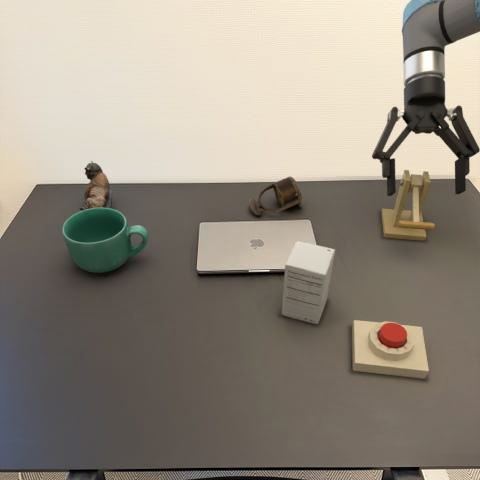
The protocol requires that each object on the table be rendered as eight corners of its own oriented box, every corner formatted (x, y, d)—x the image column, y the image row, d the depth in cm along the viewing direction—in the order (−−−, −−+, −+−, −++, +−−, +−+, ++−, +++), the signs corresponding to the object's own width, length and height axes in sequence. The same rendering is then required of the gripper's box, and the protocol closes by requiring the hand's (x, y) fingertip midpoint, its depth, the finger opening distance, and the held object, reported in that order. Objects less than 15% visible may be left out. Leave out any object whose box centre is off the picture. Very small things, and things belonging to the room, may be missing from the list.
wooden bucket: (307, 200, 106) (305, 169, 111) (251, 196, 105) (251, 165, 110) (301, 222, 112) (299, 192, 117) (248, 218, 111) (248, 188, 117)
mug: (65, 278, 96) (51, 241, 89) (85, 241, 105) (74, 205, 98) (144, 284, 95) (136, 247, 88) (158, 246, 104) (152, 209, 97)
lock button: (403, 330, 81) (406, 323, 80) (405, 350, 78) (408, 343, 77) (377, 328, 82) (379, 321, 80) (378, 347, 79) (381, 340, 77)
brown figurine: (110, 224, 109) (101, 186, 102) (80, 226, 109) (68, 187, 102) (115, 197, 118) (107, 159, 110) (87, 198, 117) (76, 160, 110)
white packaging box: (291, 290, 93) (296, 239, 84) (327, 300, 92) (337, 248, 82) (279, 315, 89) (284, 264, 80) (317, 326, 87) (326, 274, 78)
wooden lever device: (425, 241, 104) (442, 189, 95) (383, 237, 105) (397, 186, 96) (419, 215, 111) (436, 165, 102) (381, 212, 112) (393, 162, 103)
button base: (418, 334, 85) (424, 319, 82) (425, 379, 78) (432, 364, 75) (351, 327, 86) (355, 312, 84) (352, 370, 80) (356, 355, 77)
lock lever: (431, 233, 96) (435, 226, 94) (396, 230, 97) (399, 223, 95) (429, 183, 102) (433, 175, 99) (396, 181, 102) (399, 173, 100)
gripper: (477, 91, 95) (479, 196, 96) (355, 93, 95) (357, 199, 95) (498, 72, 88) (500, 186, 88) (365, 75, 87) (368, 189, 88)
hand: (425, 193), depth 92 cm, fingers open, 13 cm apart
